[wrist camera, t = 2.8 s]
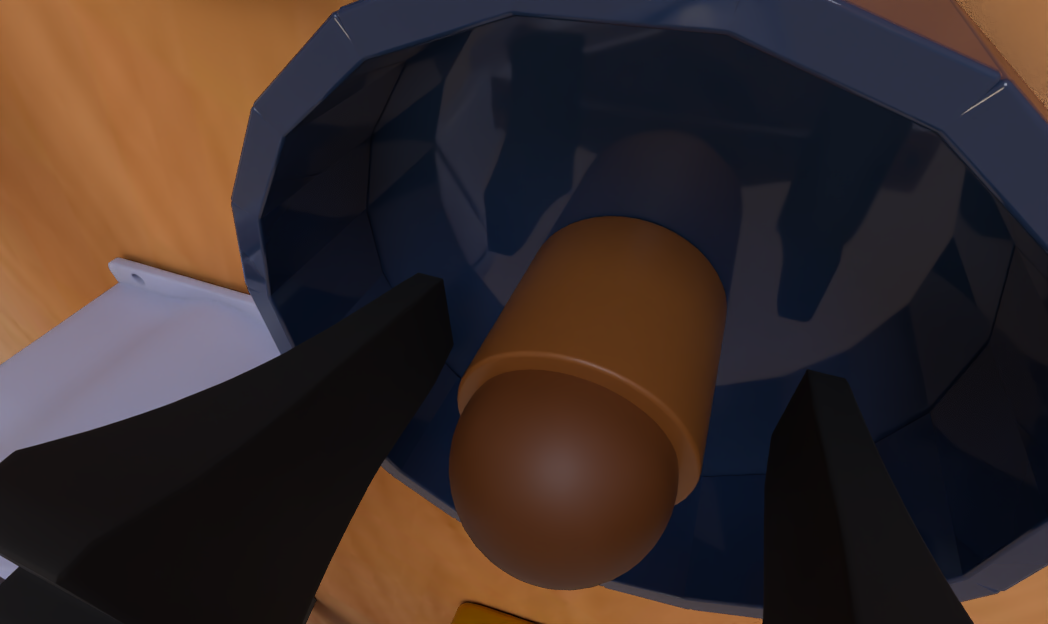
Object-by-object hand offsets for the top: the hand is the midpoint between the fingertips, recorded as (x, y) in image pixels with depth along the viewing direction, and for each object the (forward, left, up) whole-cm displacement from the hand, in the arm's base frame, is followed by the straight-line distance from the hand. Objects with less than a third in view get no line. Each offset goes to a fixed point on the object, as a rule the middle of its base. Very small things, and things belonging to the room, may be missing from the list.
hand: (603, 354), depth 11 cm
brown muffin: (0, 0, -2) cm, 2 cm away
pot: (0, 0, -2) cm, 2 cm away
